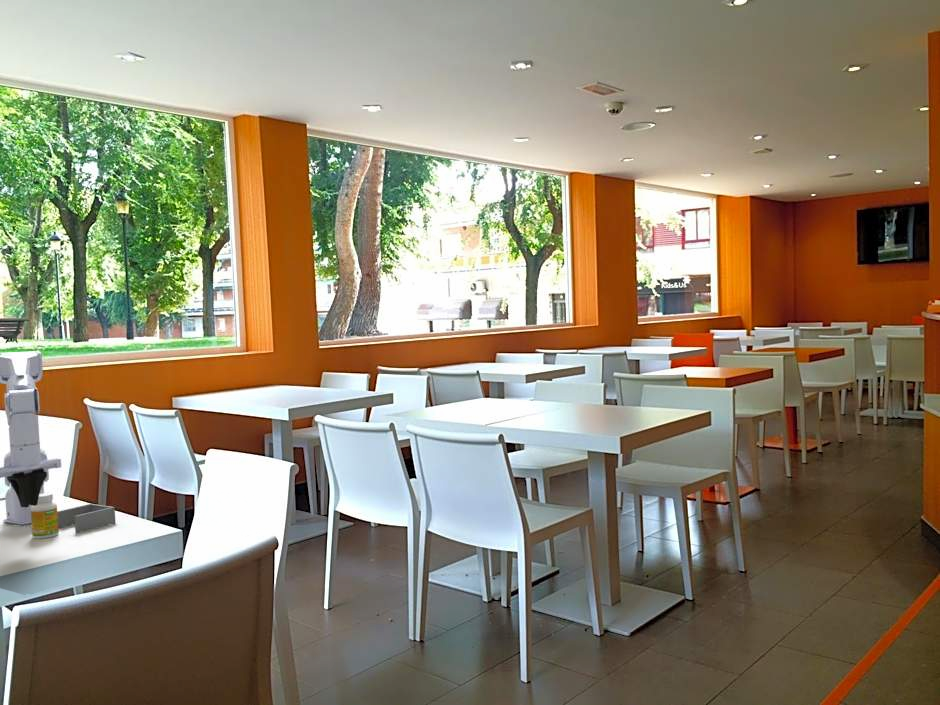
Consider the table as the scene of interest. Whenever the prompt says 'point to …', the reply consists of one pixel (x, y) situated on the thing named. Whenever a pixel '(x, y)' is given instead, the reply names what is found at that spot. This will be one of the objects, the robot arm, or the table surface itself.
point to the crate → (86, 517)
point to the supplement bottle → (44, 517)
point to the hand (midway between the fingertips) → (29, 505)
